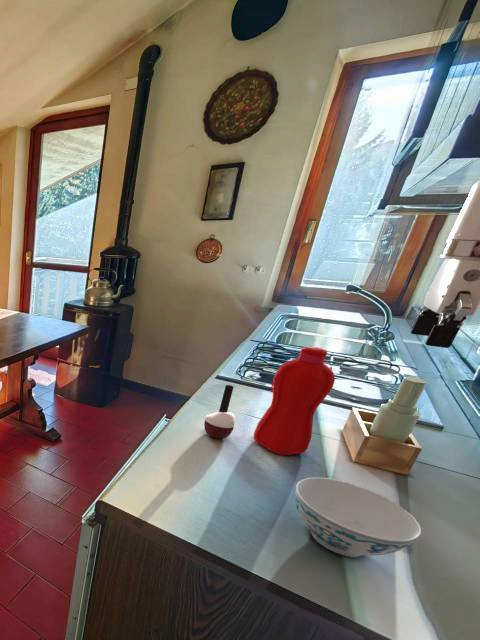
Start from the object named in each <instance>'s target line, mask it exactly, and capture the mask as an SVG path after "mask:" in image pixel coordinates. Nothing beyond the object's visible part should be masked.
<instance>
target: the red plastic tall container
mask: <svg viewBox="0 0 480 640" xmlns="http://www.w3.org/2000/svg"><path fill="white" fill-rule="evenodd" d="M327 354H328V350H327V349H325V348H322V347H318V346H316V347H315V346H311V347H301V349H300V352H299V353H298V356H297V358H294V359H291V360H288V361H285V362H284V363H281V364H280V366H279V367H278V369H277V370H276V372H275V374H274V375H273V381H272V383H271V387H270V391H271V393H272V399H271V404H270V405H269V407H268V408H267V410H266V411H265V413H264V414H263V415H262V417H261V418H260V419H259V420H258V422H257V425H256V427H255V430H254V432H253V440H254V441H255V442H256V443H257V444H259V445H260V446H262V447H264V448H265V449H267V450H268V451H270V452H271V453H274V454H277V455H280V456H292V455H302V454H303V453H305V452H306V451H307V450H308V448H309V446H310V443H311V440H312V435H313V426H314V425H313V424H314V415H315V413H316V410H317V409H318V408H319V406H320V405H321V403H323V401H324V400H325V399H326V398H327V396H329V394H330V393H331V391H332V389H333V387H334V384H335V381H336V378H335V374H334V373H335V372H334V371H333V370H332V369H331V368H330V367H329V366H328V365H327V364H325V360H326V358H328V356H327Z"/></svg>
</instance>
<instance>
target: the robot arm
mask: <svg viewBox="0 0 480 640" xmlns="http://www.w3.org/2000/svg"><path fill="white" fill-rule="evenodd" d="M447 238H448V239H447V240H446V242H445V245H444V247H443V249H442V251H441V253H440V256H439V258H440V259H444V261H443V262H442V264H441V266H440V267H439V269H438V270H437V273H436V275H435V276H434V278H433V280H432V282H431V284H430V287H429V288H428V290H427V292H426V294H425V297H424V299H423V307H422V308H421V310H420V311H419V314H418V315H417V318H416V320H415V322H414V324H413V326H412V328H411V330H410V334H412V335H417V336H426V337H427V338H426V340H425V342H424V344H425V345H426V346H428V347H435V348H444V349H449V348H451V346H452V344H453V342H454V341H455V338H456V337H457V335H458V332H459V331H460V329H461V328H462V327H463V324H464V321H465V320H467V317H472V316H474V315H475V314H476V313H477V312H478V310H479V307H480V179H479V180H477V181H476V183H474V185H473V186H472V188H471V189H470V192H469V194H468V197H467V198H466V200H465V202H464V204H463V206H462V209H461V210H460V212H459V215H458V217H457V219H456V221H455V223H454V226H453V228H452V229H451V232H450V234H449V236H448V237H447Z"/></svg>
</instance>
